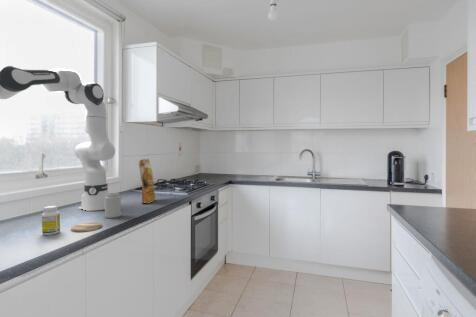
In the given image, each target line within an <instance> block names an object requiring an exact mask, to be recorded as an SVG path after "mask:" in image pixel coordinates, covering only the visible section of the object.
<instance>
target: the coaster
mask: <svg viewBox="0 0 476 317" xmlns="http://www.w3.org/2000/svg"><path fill="white" fill-rule="evenodd" d="M102 227H103V224H102V223H101V222H85V223H80V224H75V225H73V226H71V228H70V231H71V232H73V233H85V232H86V233H87V232H93V231H96V230H99V229H101V228H102Z"/></svg>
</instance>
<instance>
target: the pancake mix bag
mask: <svg viewBox="0 0 476 317" xmlns="http://www.w3.org/2000/svg"><path fill="white" fill-rule="evenodd" d="M138 162H139V163H138V166H139V172H140V181H141V184H142V185H141V186H142V187H141V192H142V193H141V204H142V203H149V202H151V201H153V200H155V199H156V198H157V197H156V193H155V184H154V176H153V169H152V165H151V162H150V159H149V158H147V159H145V158H144V159H140V160H139V161H138ZM156 200H157V199H156ZM149 204H150V203H149Z"/></svg>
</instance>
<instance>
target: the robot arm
mask: <svg viewBox="0 0 476 317" xmlns="http://www.w3.org/2000/svg"><path fill="white" fill-rule="evenodd" d="M39 85H40V86H42V88H44V90H46V91H47V92H50V93H63V94H64V97H65V99H66V100H67V101H68V103H71V104H75V105H84V107H85V113H84V131H85V133H87V134H88V137H89V139H90V141H84V142H82V143H78V144H77V145H76V147H75V148H74V154H75V156H76V157H77V158H78V159H79V160H80V163H81V164H82V165H81V166H82V168H83V172H84V187H83V189H84V192H83V194H82V195H81V206H79V207H78V210H81V209H83V210H82V211H85V210H86V211H88V212H91V211H103V210H105V196H106V194H109V193H110V192H109V190H108V189H109V188H108V186H109V184H108V183H107V171H106V169H105V168H104V167H103V166H102V165H101V162H104V161H109V160H111V159H113V158H114V156H115V154H116V148H115V145H113V144H112V142H110V140H109V136H108V133H107V108H106V103H105V102H104V96H105V95H104V94H105V93H104V89H103V88H102V86H101V84H98V83H97V82H82V78H81V75H80V74H79V73H78V72H77V71H76V70H73V69H66V68H53V69H26V68H22V67H19V66H13V65H8V66H5V67H3V68H2V69H1V70H0V100H6V99H10V98H12V97H14V96H16V95H18V93H21V92H24V91H25V90H28V89H29V88H31V86H39Z"/></svg>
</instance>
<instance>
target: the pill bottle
mask: <svg viewBox="0 0 476 317" xmlns="http://www.w3.org/2000/svg"><path fill="white" fill-rule="evenodd" d="M60 218H61V217H60V212H59V210H58V206H57V205H47V206H44V207H43V213H42V214H41V230H42V231H41V232H42V235H44V236H53V235H55V234H58V233H61V219H60Z"/></svg>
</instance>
